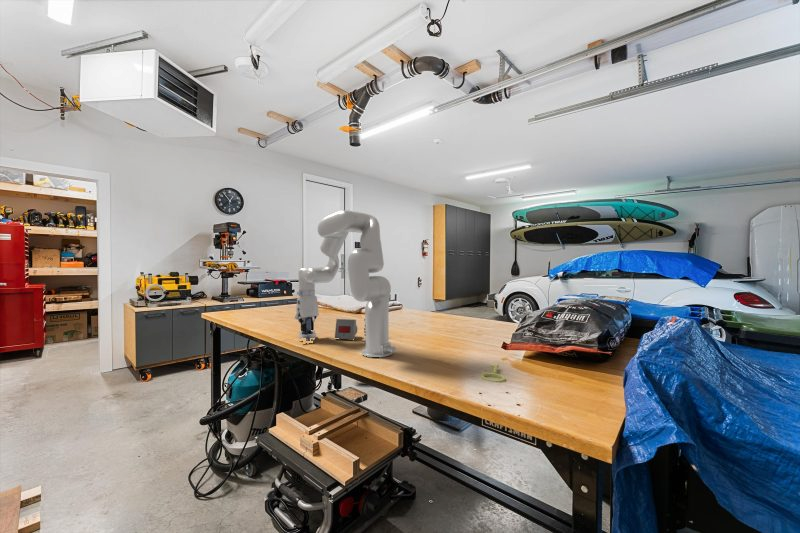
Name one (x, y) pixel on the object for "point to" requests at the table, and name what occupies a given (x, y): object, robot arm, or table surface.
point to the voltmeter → (346, 329)
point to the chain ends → (307, 335)
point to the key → (493, 375)
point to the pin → (308, 325)
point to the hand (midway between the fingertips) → (307, 330)
